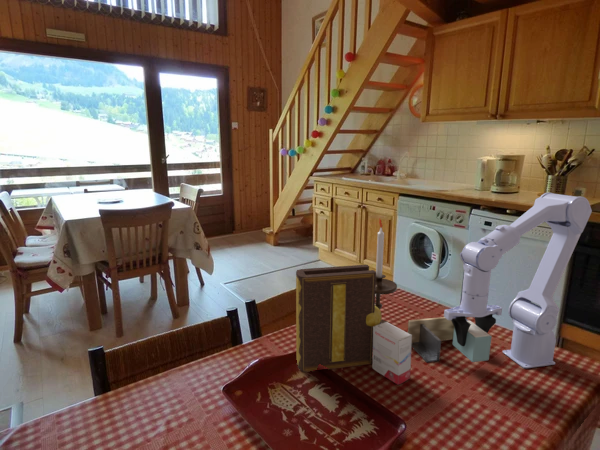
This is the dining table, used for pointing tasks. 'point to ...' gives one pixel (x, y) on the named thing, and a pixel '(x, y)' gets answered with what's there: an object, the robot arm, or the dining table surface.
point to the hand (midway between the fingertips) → (469, 343)
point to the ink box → (392, 352)
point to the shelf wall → (432, 328)
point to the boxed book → (475, 344)
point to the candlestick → (381, 284)
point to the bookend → (427, 345)
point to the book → (335, 316)
